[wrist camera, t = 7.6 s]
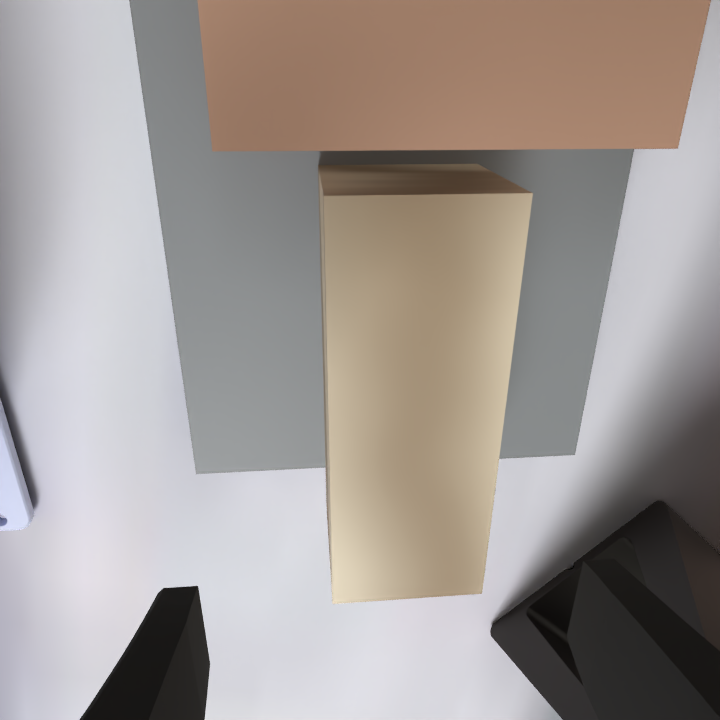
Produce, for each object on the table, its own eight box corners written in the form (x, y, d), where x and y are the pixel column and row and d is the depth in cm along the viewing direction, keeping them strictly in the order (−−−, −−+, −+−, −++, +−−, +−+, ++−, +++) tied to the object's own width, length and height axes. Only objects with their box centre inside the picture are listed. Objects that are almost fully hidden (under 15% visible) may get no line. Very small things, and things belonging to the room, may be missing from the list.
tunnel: (242, 123, 14) (212, 151, 9) (230, -27, 13) (188, -85, 8) (553, 122, 15) (677, 148, 10) (572, -21, 13) (727, -72, 9)
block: (326, 504, 19) (332, 603, 16) (318, 165, 15) (323, 195, 11) (448, 497, 20) (482, 593, 16) (477, 163, 15) (532, 193, 11)
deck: (205, 437, 20) (196, 473, 18) (91, -448, 11) (52, -545, 10) (551, 422, 21) (574, 454, 19) (690, -403, 12) (756, -484, 11)
